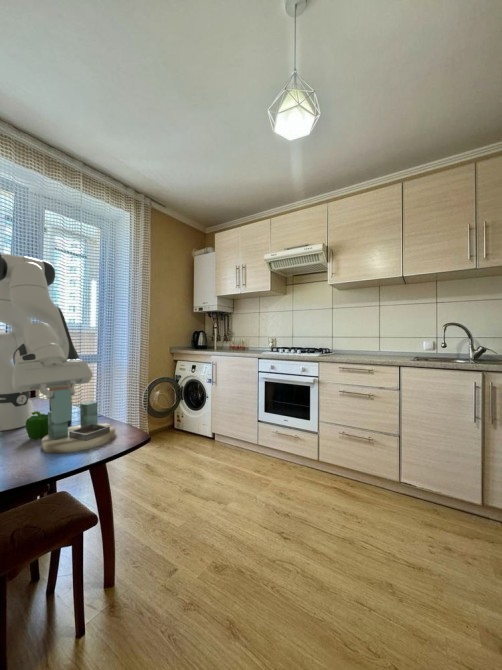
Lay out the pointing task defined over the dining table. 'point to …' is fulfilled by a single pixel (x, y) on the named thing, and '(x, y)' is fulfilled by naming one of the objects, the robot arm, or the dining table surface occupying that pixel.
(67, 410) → the loose leg
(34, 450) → the dining table surface
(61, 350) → the robot arm
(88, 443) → the stool seat
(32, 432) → the bell pepper
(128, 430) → the dining table surface
